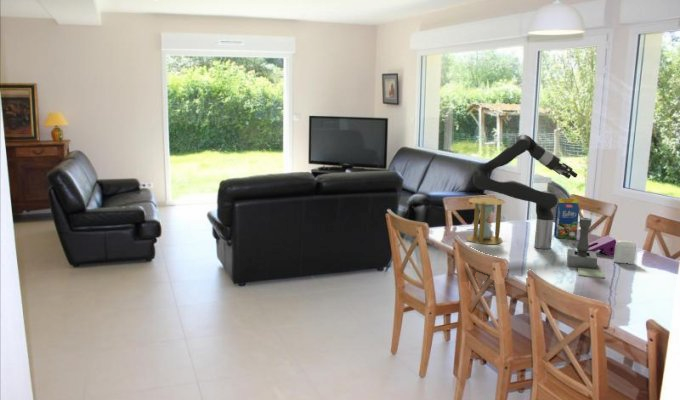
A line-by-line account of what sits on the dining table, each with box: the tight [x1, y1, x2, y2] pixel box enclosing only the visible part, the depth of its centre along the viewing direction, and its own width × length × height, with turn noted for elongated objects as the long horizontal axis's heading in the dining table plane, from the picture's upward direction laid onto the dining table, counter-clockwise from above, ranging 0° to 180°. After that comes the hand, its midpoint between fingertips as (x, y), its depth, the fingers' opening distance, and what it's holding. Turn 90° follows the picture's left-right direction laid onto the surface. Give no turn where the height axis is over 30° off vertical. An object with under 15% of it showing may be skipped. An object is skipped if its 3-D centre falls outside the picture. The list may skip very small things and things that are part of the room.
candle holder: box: [576, 217, 592, 256], centre depth 310 cm, size 6×6×25 cm
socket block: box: [566, 248, 598, 270], centre depth 311 cm, size 14×14×6 cm
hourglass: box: [466, 196, 506, 245], centre depth 358 cm, size 24×22×25 cm
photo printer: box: [613, 240, 637, 265], centre depth 315 cm, size 10×4×12 cm, turn 72°
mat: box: [577, 268, 606, 279], centre depth 297 cm, size 12×12×1 cm
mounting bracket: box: [588, 234, 617, 256], centre depth 335 cm, size 9×8×18 cm
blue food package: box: [553, 198, 580, 240], centre depth 367 cm, size 6×12×25 cm, turn 90°
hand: (573, 176), depth 316 cm, fingers open, 8 cm apart
